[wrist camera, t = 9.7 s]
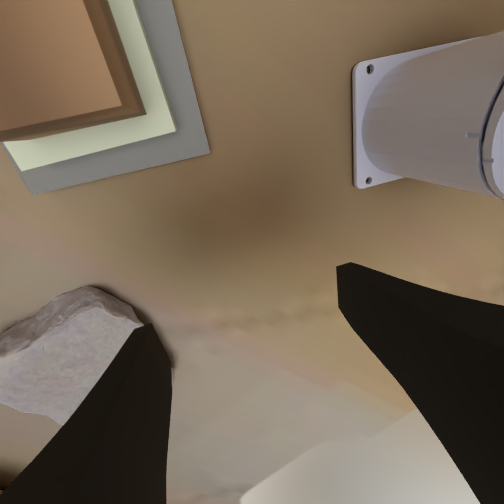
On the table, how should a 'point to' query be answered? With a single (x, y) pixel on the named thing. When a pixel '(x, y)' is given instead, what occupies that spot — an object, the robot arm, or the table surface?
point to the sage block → (119, 131)
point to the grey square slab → (148, 150)
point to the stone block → (63, 352)
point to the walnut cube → (62, 68)
